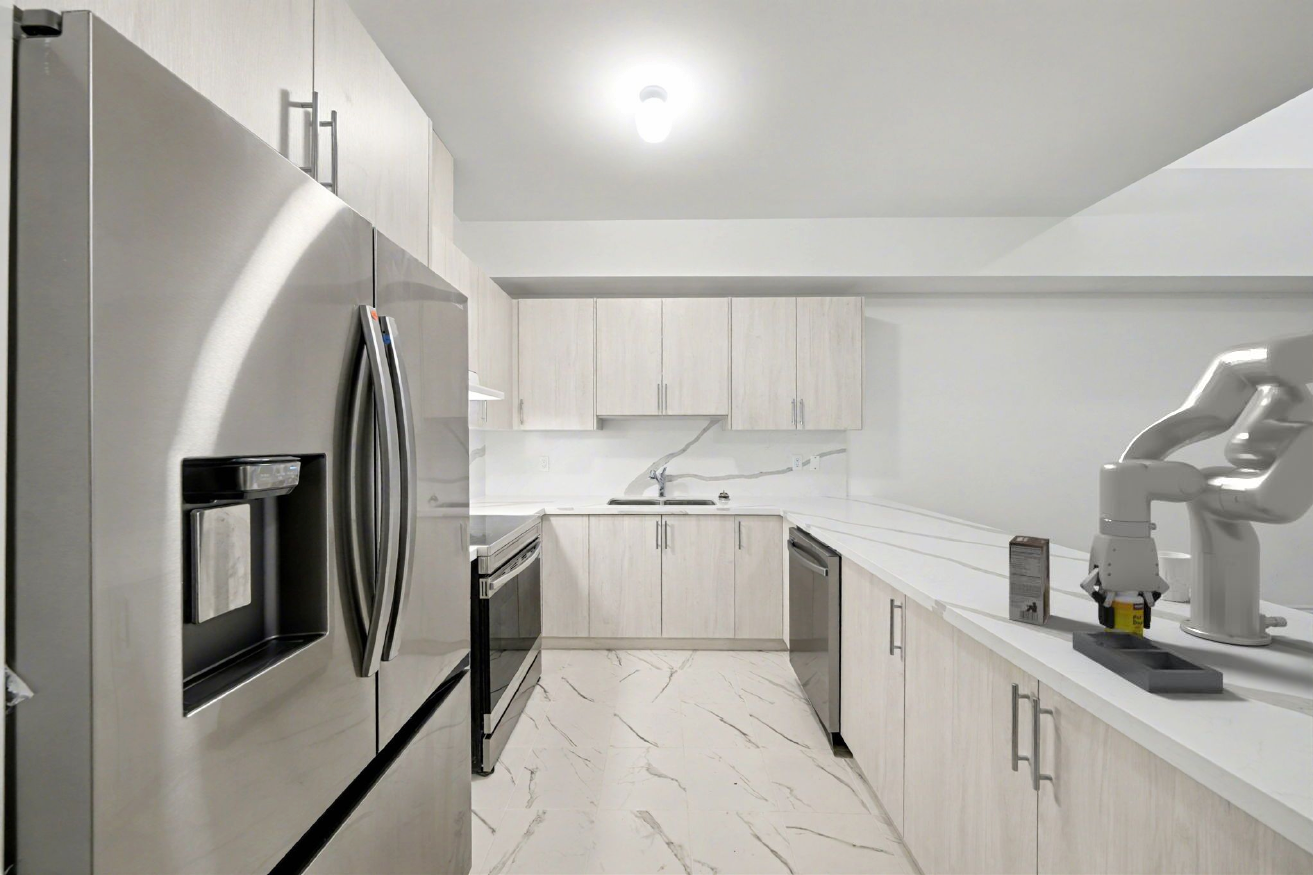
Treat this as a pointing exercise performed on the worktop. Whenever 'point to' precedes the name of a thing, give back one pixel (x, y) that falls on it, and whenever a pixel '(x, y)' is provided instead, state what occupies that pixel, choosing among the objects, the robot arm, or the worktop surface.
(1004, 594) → the worktop surface
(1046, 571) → the coffee box
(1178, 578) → the white cup
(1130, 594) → the supplement bottle
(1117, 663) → the dark grey divided tray
